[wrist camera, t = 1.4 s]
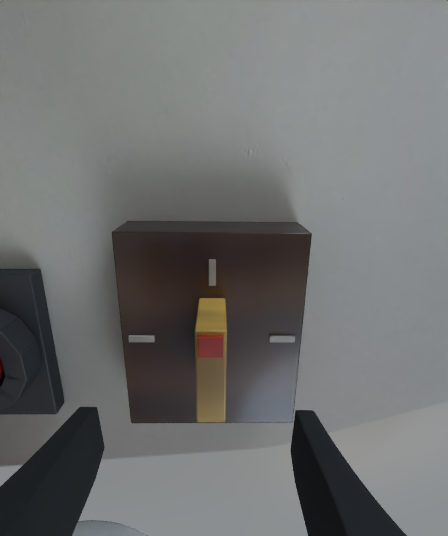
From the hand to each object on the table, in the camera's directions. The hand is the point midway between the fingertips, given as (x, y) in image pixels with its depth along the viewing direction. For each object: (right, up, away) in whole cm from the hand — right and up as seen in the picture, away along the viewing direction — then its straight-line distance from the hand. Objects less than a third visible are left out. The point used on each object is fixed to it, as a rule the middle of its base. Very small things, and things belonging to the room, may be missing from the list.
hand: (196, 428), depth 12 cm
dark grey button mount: (-14, +1, +9) cm, 17 cm away
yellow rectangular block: (0, +2, +6) cm, 6 cm away
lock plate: (0, +3, +9) cm, 10 cm away
